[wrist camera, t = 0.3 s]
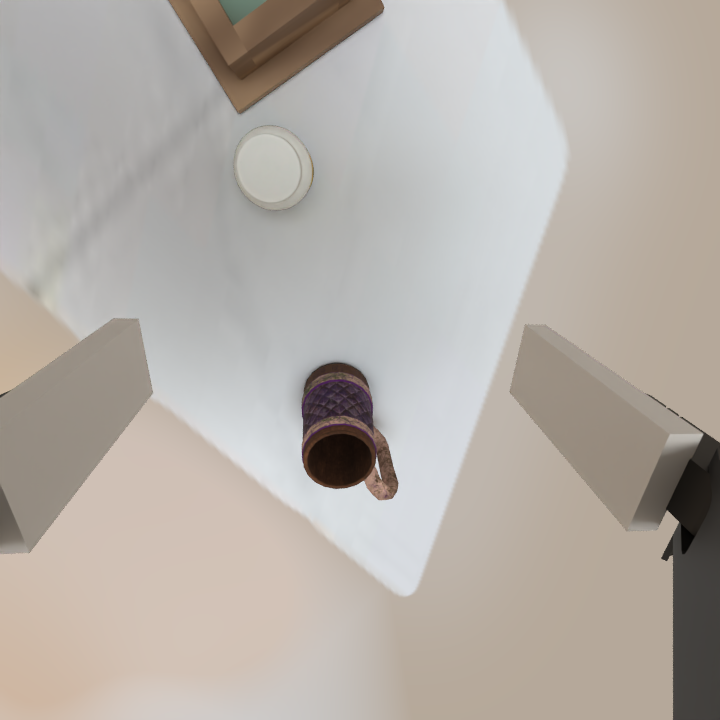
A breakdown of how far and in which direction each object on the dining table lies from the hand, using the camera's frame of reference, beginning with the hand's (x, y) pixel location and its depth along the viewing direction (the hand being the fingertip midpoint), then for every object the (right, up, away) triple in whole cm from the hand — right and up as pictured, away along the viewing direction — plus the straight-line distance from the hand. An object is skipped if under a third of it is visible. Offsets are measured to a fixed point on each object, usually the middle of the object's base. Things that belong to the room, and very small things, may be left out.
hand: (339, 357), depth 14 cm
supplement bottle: (-6, +16, +20) cm, 26 cm away
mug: (-1, -4, +30) cm, 30 cm away
